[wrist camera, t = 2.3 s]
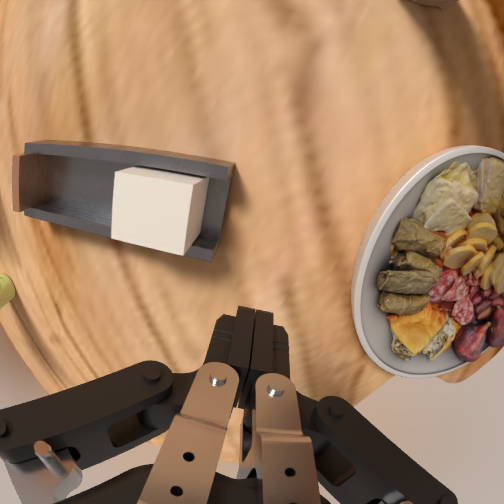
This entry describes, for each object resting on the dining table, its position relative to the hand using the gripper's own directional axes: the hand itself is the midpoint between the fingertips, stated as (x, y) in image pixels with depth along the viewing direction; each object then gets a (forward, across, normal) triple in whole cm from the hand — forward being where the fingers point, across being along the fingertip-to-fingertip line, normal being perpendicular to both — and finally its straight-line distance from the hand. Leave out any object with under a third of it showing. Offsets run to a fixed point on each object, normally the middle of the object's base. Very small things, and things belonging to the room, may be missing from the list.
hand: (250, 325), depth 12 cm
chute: (+18, +16, 0) cm, 25 cm away
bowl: (+19, -25, 0) cm, 31 cm away
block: (+17, +9, 0) cm, 20 cm away
